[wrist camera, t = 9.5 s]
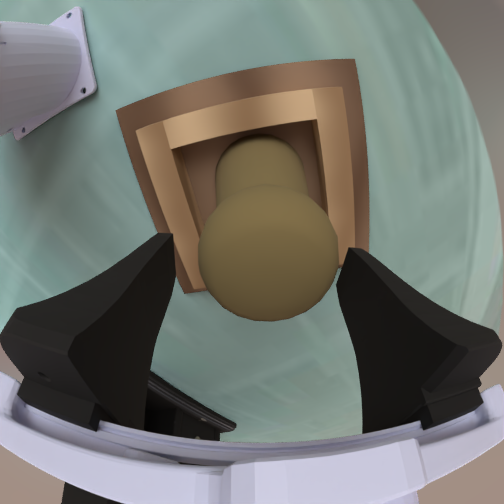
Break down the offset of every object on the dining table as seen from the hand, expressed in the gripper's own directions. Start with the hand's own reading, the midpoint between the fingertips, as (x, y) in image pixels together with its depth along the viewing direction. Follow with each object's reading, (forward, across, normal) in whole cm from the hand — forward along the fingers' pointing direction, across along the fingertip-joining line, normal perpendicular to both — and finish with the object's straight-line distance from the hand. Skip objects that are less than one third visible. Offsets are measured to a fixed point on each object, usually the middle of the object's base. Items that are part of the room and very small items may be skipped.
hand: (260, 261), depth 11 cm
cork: (+9, 0, -1) cm, 9 cm away
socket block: (+9, 0, 0) cm, 9 cm away
